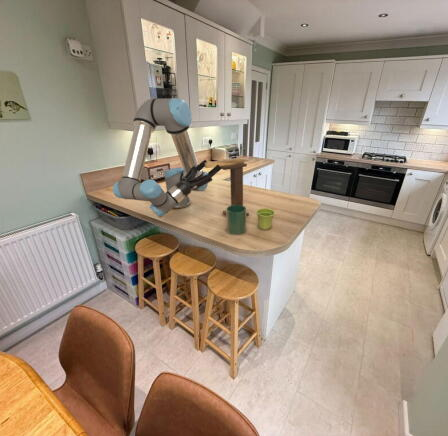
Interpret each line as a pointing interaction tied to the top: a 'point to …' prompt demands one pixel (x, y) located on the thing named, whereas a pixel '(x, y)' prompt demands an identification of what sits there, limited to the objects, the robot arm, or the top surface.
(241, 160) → the stick
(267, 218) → the plant pot
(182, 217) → the top surface
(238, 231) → the utensil pot
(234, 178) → the brown wooden stand
